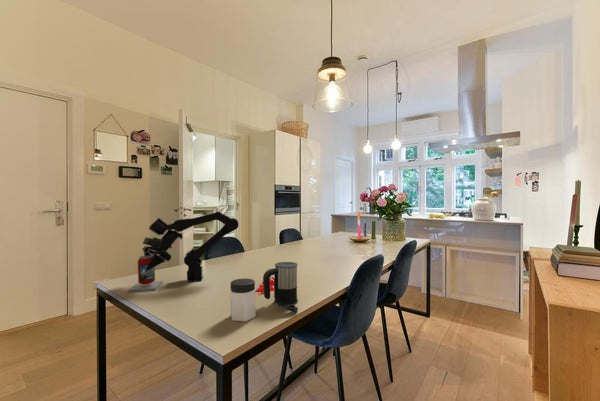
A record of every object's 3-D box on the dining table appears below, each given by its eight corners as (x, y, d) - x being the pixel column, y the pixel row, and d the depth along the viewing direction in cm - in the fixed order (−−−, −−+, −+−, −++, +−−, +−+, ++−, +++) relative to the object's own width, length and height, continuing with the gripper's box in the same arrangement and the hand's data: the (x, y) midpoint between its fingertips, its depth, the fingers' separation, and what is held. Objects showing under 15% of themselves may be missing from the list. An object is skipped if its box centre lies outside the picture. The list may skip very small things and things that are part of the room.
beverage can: (143, 286, 125) (142, 258, 125) (135, 283, 129) (134, 257, 128) (158, 282, 130) (157, 256, 130) (150, 279, 134) (149, 254, 134)
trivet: (162, 282, 136) (162, 280, 136) (155, 290, 125) (155, 288, 125) (138, 284, 134) (137, 282, 134) (128, 292, 123) (128, 289, 123)
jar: (245, 309, 103) (245, 276, 103) (260, 315, 98) (260, 280, 98) (224, 317, 97) (224, 282, 96) (239, 324, 91) (239, 287, 91)
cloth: (269, 298, 116) (269, 293, 116) (240, 295, 121) (240, 289, 121) (293, 281, 140) (292, 276, 140) (268, 278, 145) (267, 274, 145)
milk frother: (287, 295, 117) (287, 260, 117) (315, 306, 106) (315, 266, 106) (259, 305, 107) (259, 266, 107) (286, 317, 96) (286, 274, 96)
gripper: (146, 229, 138) (121, 255, 130) (163, 232, 126) (137, 261, 118) (162, 243, 144) (140, 269, 136) (181, 246, 133) (157, 275, 124)
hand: (143, 268), depth 128 cm, fingers closed on beverage can, 7 cm apart
